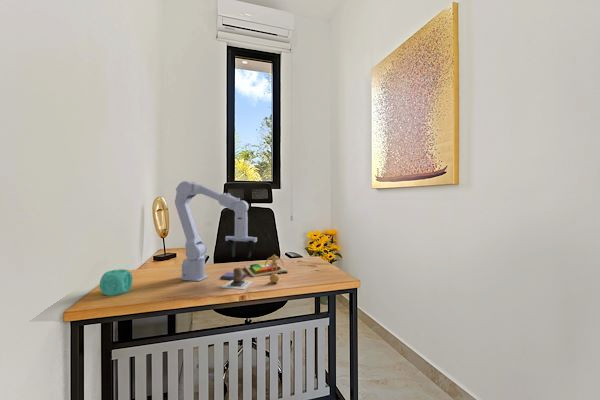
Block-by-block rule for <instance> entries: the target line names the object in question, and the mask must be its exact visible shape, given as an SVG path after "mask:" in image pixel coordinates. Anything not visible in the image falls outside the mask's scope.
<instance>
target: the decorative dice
mask: <svg viewBox="0 0 600 400" xmlns="http://www.w3.org/2000/svg"><path fill="white" fill-rule="evenodd" d="M132 285H133V274H132V272H131V271H130V270H129V269H121V268H120V269H113V270H109V271H105V272H104V273H103V274H102V276H101V277H100V281H99V289H100V292H101V293H102V294H104V295H105V296H107V295H109V296H108V297H112V296H111V295H115V296H119V295H123V293H124V294H126V293H128V292H129V290H130V289H131V287H132Z"/></svg>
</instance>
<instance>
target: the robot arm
mask: <svg viewBox="0 0 600 400" xmlns="http://www.w3.org/2000/svg"><path fill="white" fill-rule="evenodd" d="M175 190H176V195H175V199H174V204H175V209H176V210H177V211H176V212H177V214H178V218H179V220H180V224H181V227H182V229H183V233H184V236H185V239H186V241H185V245H184V246H185V256H186V258H184V259H183V261H182V263H181V278H180V280H182V281H193V282H200V281H203V280H204V279H206V278H208V277H209V274H206V269H205V268H206V267H205V266H206V265H205V264H206V257H205V254H206V253H207V249H208V248H207V246H206V244H205V243H204V242H203V239H202V238H201V237H200V236H199V234H198V233H199V232H198V231H197V230H198V229H197V227H196V224H195V220H194V217H193V215H192V212H191V208H190V206H189V205H190V202H191V200H192V199H193V198H194V197H195V196H197V195H204V196H205V197H209V198H211V199H212V200H213V199H214V200H216V201H217V202H218V204H219V206H222V207H224V208H226V209H229V210H231V211H233V212H234V235H226V236H225V239H224V241H226V245H227V247H228V249H229V253H230V256H231V258H234V257H236V243H237V242H246V251H247V254H246V257H247V259H250V258H251V256H252V253H253V249H254V247H255V245H256V243H257V242H258V237H255V236H250V235H249V236H248V231H249V229H248V227H249V226H248V221H249V218H248V217H249V216H248V210H249V208H250V207H249V203H248V202H247V201H246V200H242V199H241V198H240V197H235V196H233V195H231V193H229V192H227V193H226V192H224V193H219V192H218V191H216V190H214V189H212V188H209V187H208V186H205V185H203V184H200V183H197V182H195V181H191V182H190V181H186V180H185V181H181V182H179V184H178V186H177V187H175Z"/></svg>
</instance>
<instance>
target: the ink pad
mask: <svg viewBox="0 0 600 400" xmlns="http://www.w3.org/2000/svg"><path fill="white" fill-rule="evenodd" d="M247 277H248V274H247V273H243V272H242V280H244V279H245V278H247ZM219 279H220V280H230V281H231V280H234V272H226V273H225V274H223V275H221V276H220V277H219Z"/></svg>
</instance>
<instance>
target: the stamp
mask: <svg viewBox="0 0 600 400" xmlns="http://www.w3.org/2000/svg"><path fill="white" fill-rule="evenodd" d="M233 273H234V281H233V282H232V283H231V286H242V285H243V284H244V281H245V280H243V279H242V273H243V269H242V268H241V267H237V268H236V267H235V268H233Z"/></svg>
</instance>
